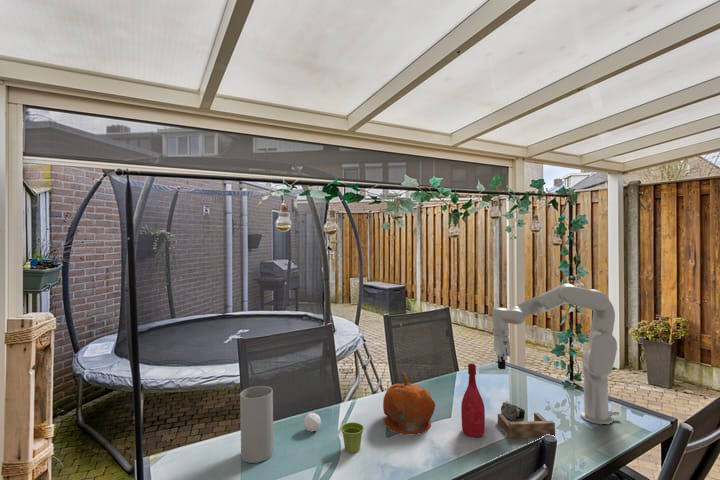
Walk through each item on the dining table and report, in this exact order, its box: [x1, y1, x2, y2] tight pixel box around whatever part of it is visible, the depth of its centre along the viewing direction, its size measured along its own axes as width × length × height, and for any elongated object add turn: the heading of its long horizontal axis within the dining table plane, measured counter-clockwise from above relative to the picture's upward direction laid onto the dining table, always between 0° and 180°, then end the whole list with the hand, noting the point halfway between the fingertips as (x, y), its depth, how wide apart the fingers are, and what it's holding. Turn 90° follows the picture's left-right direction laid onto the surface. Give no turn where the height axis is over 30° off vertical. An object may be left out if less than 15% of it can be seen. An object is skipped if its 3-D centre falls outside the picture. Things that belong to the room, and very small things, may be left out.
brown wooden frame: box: [497, 412, 556, 440], centre depth 163 cm, size 19×14×6 cm
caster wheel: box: [500, 401, 526, 422], centre depth 176 cm, size 7×11×10 cm
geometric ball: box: [303, 412, 322, 433], centre depth 165 cm, size 8×8×8 cm
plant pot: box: [340, 422, 365, 454], centre depth 150 cm, size 9×9×9 cm
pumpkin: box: [382, 371, 436, 435], centre depth 172 cm, size 22×25×22 cm
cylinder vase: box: [239, 385, 275, 464], centre depth 147 cm, size 12×12×25 cm
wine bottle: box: [460, 362, 486, 438], centre depth 161 cm, size 10×10×30 cm
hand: (501, 368), depth 187 cm, fingers closed
